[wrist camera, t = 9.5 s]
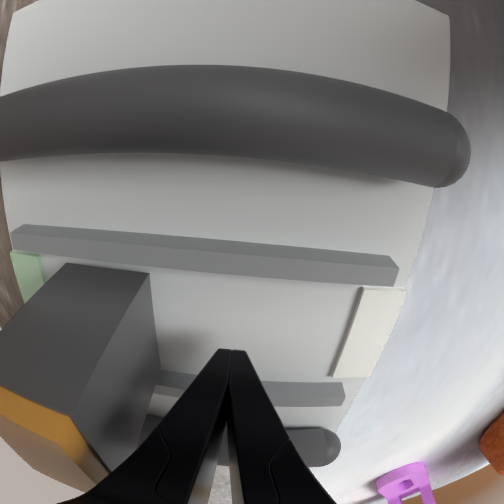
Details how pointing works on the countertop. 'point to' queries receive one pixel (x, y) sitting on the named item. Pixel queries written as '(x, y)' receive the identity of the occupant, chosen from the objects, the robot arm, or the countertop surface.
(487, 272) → the countertop surface
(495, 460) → the bread
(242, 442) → the robot arm
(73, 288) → the toggle
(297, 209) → the panel
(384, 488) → the bracket
